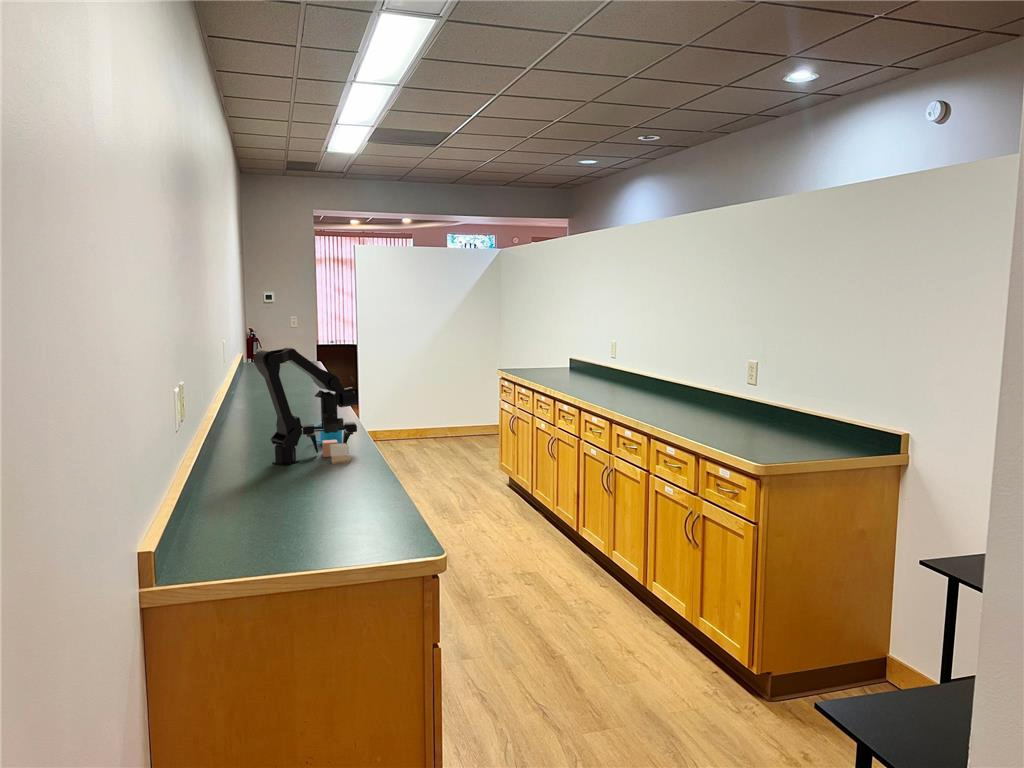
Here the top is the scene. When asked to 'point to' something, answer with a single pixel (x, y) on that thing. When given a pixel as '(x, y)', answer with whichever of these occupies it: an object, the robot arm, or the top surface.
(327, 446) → the coral cube
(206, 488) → the top surface
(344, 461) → the slab lower
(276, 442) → the robot arm
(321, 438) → the mug
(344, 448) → the slab upper
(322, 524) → the top surface
